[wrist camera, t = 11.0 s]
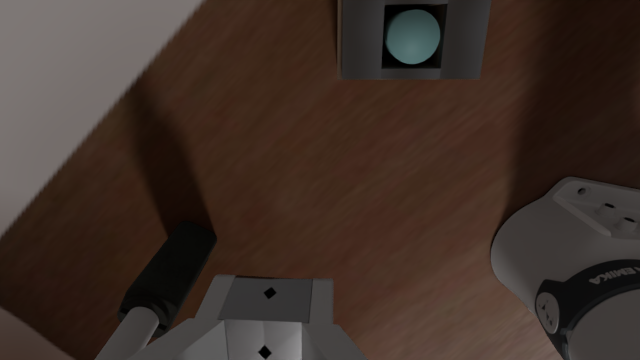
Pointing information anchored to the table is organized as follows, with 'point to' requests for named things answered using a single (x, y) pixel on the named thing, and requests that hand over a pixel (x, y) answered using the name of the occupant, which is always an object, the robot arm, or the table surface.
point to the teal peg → (410, 35)
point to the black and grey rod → (159, 291)
